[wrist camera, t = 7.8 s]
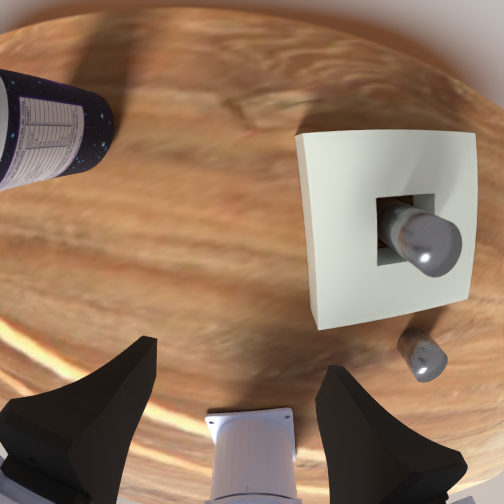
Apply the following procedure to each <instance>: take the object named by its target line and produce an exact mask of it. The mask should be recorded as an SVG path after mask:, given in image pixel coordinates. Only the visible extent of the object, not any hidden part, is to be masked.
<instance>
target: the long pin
mask: <svg viewBox="0 0 504 504" xmlns="http://www.w3.org/2000/svg"><path fill="white" fill-rule="evenodd" d="M376 211H377V238H379V239H380V240H381V241H383V242H384V243H385V244H387V245H388V246H389V247H391V248H392V249H393V250H394V251H396V252H397V253H398V254H400V255H401V256H402V257H404V258H405V259H406V260H407V261H409V262H410V263H411V264H412V265H414V266H415V267H416V268H417V269H419V270H420V271H421V272H422V273H424V274H425V275H427V276H429V277H433V278H436V277H441V276H443V275H445V274H447V273H448V272H449V271H450V270H451V269H452V268H453V267H454V266H455V265H456V263H457V261H458V259H459V257H460V254H461V250H462V237H461V233H460V231H459V229H458V227H457V226H456V225H455V224H454V223H452V222H450V221H448V220H446V219H443V218H441V217H439V216H436V215H434V214H432V213H429V212H427V211H424V210H422V209H420V208H417V207H415V206H412V205H410V204H407V203H405V202H402V201H399V200H397V199H394V198H391V197H385V198H381V199H379V200H378V201H376Z"/></svg>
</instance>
